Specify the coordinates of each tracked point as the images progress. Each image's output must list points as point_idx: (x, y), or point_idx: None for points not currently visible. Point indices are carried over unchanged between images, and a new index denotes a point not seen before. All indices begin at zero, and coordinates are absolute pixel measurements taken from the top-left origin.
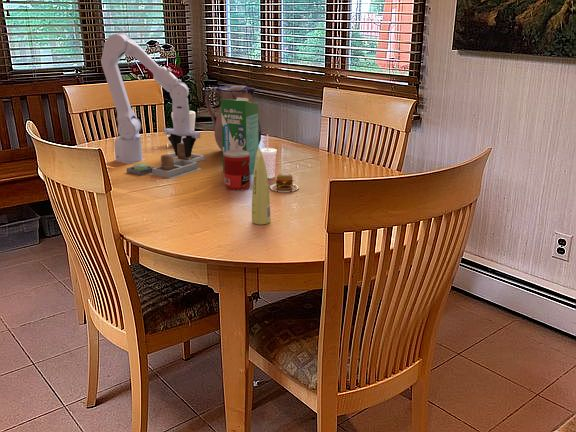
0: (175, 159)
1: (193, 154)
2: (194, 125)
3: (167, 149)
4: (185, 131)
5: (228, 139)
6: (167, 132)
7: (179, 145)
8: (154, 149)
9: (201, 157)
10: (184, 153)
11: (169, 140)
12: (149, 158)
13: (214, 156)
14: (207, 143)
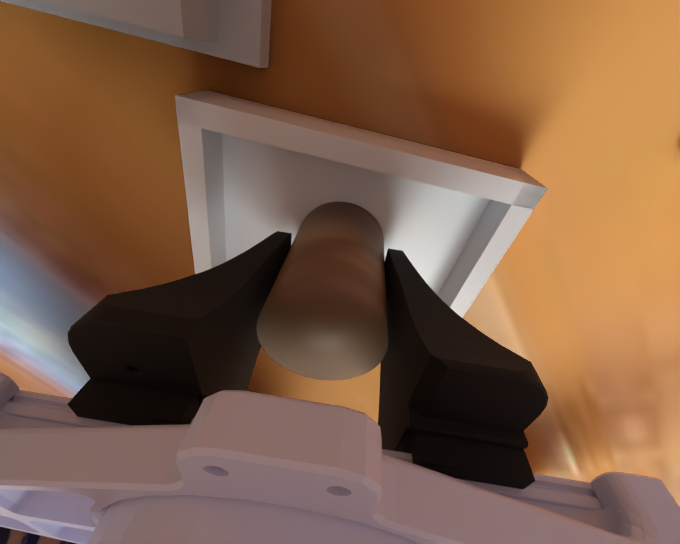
0: (344, 135)
1: None
2: None
3: (556, 419)
4: (96, 530)
5: None
6: (613, 520)
7: (323, 287)
8: (640, 411)
9: (197, 273)
10: (294, 247)
11: (500, 346)
12: (663, 243)
13: (255, 370)
14: None
